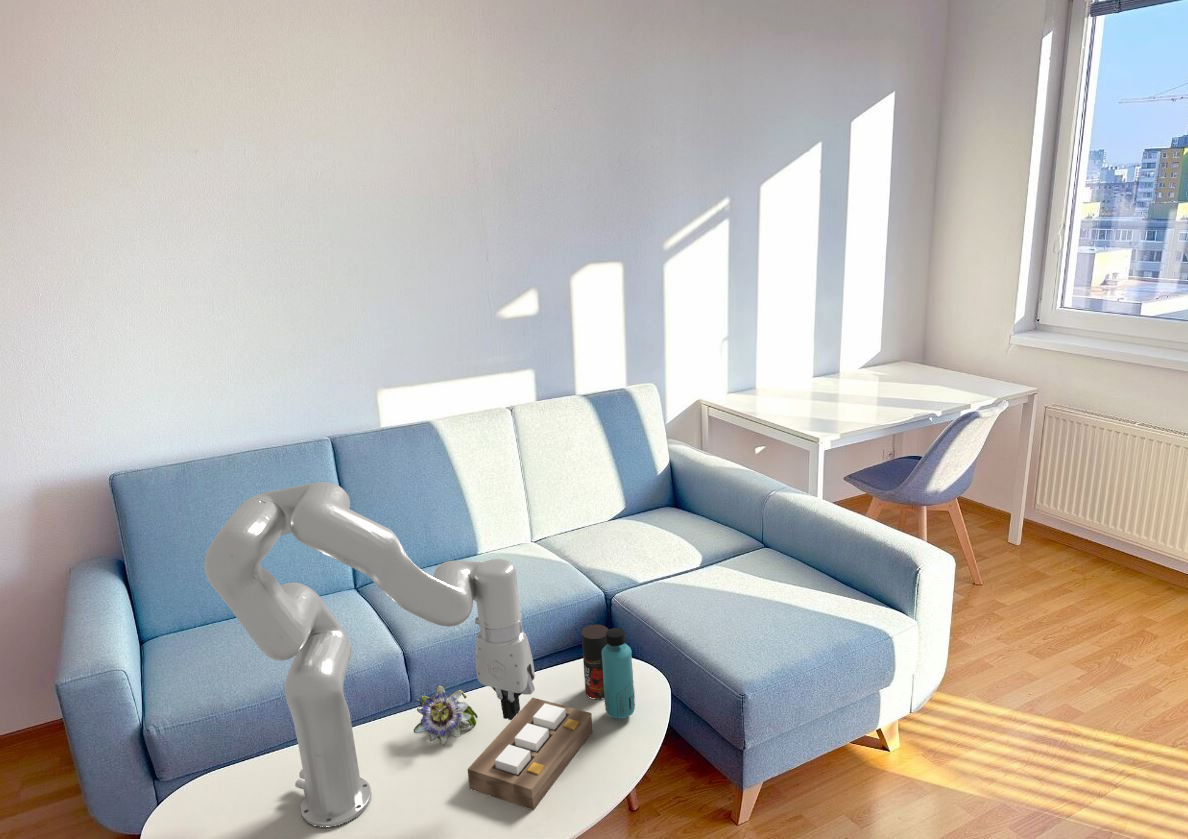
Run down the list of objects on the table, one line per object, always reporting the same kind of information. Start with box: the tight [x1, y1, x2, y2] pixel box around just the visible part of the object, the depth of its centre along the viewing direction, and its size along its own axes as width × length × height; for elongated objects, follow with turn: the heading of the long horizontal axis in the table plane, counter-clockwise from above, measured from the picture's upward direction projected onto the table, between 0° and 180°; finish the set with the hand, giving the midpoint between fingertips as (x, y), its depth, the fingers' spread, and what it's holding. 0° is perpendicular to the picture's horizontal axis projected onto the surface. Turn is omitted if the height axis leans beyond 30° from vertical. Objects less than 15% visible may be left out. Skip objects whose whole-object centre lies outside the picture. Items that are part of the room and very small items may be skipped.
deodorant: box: [581, 624, 609, 700], centre depth 183 cm, size 6×6×15 cm
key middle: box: [515, 723, 549, 752], centre depth 163 cm, size 5×5×2 cm
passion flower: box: [413, 685, 479, 746], centre depth 174 cm, size 11×11×12 cm
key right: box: [533, 703, 566, 730], centre depth 169 cm, size 5×5×2 cm
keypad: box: [467, 697, 594, 811], centre depth 164 cm, size 14×24×5 cm, turn 153°
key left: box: [495, 745, 531, 775], centre depth 157 cm, size 5×5×2 cm
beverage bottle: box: [602, 627, 636, 719], centre depth 174 cm, size 6×7×20 cm
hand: (511, 714), depth 155 cm, fingers closed
